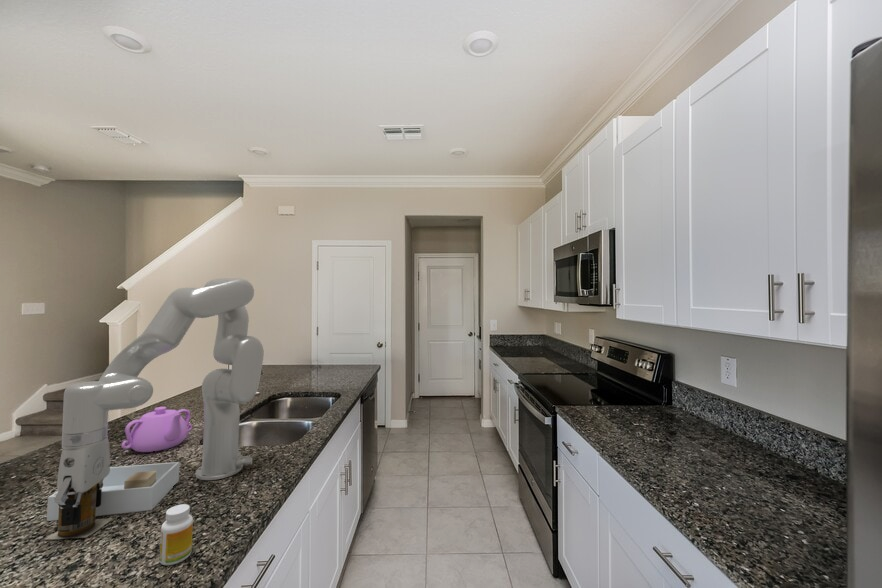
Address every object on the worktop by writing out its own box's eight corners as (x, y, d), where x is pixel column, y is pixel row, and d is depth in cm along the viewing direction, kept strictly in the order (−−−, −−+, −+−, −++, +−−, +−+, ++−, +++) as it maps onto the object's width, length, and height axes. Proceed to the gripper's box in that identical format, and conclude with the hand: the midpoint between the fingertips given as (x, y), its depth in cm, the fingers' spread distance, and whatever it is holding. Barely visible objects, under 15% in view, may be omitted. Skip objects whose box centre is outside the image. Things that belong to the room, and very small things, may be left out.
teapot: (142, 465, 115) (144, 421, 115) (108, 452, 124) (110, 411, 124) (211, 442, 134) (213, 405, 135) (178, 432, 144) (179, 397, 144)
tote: (178, 481, 105) (179, 461, 105) (151, 510, 90) (152, 487, 91) (90, 489, 100) (91, 468, 100) (46, 521, 85) (48, 497, 85)
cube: (155, 489, 99) (156, 470, 99) (146, 498, 94) (147, 479, 95) (134, 491, 98) (134, 472, 98) (123, 500, 93) (124, 481, 93)
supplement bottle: (198, 550, 76) (200, 504, 76) (173, 568, 71) (175, 518, 71) (178, 546, 77) (180, 500, 78) (152, 563, 72) (154, 514, 72)
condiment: (74, 520, 85) (77, 469, 86) (113, 519, 86) (115, 468, 86) (43, 540, 78) (46, 484, 78) (86, 539, 79) (88, 483, 79)
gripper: (78, 450, 76) (74, 536, 75) (126, 423, 92) (123, 494, 92) (33, 453, 74) (29, 542, 73) (91, 425, 90) (88, 497, 90)
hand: (82, 514), depth 83 cm, fingers closed on condiment, 6 cm apart
